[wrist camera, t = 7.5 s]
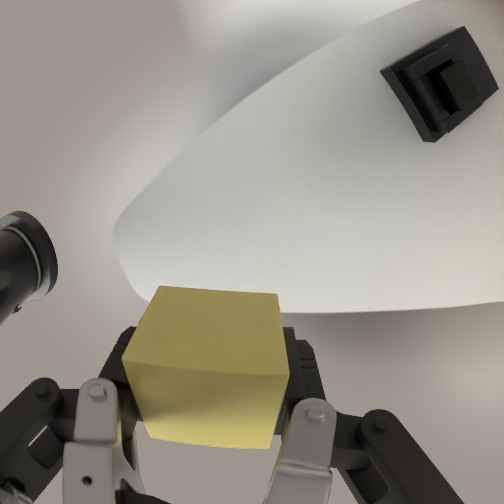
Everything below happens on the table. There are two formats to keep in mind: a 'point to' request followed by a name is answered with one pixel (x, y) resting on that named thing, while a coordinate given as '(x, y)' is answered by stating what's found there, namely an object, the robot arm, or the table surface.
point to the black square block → (454, 85)
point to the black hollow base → (422, 90)
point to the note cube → (209, 367)
